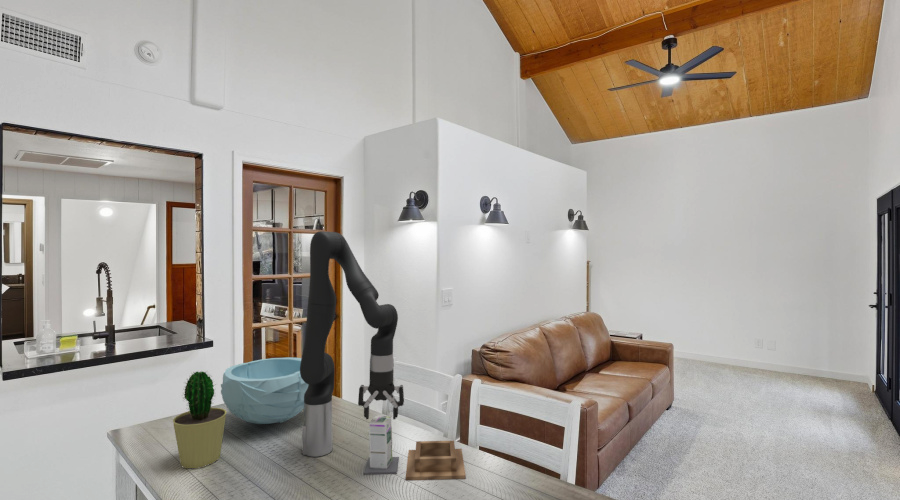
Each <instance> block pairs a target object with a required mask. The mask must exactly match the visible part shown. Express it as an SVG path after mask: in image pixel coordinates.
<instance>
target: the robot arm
mask: <svg viewBox="0 0 900 500" xmlns="http://www.w3.org/2000/svg"><path fill="white" fill-rule="evenodd" d="M330 260H335V261H336V262H337V263H338V265H339V266H340V267H341V269H342V270H343V273H344V277H345V282H346V285H347V288H348V290H349V292H350V294H351V295H352V296H353V297H354V298H355V300H356V301H357V303H358V304H359V307H360V310H361V313H362V315H363V317H364V321H365V322H366V323H367V324H368V325H369V326H370V327H372V329H377V332H376V333H375V334H373V336H372V337H371V339H370V356H369V384H368V385H364V384H361V385H360V386H359V388H358V402H357V405H358V406H359V407H363V417H364V418H365V420H369V419H370V418H369V417H370V404H371V403H372V402H373V401H374V400H375V401H384V402H386V401H387V400H388V402H389V403H390V404H391V405H392V407H393V409H392V420H396V419H397V418H398V416H399V408H400V407H403V406H404V405H405V404H404V403H405V396H404V395H405V394H404V385H403V384H400V385H398V386H397V385H396V386H395V384H394V372H395V371H394V369H395V368H394V367H395V363H394V339H395V338H394V337H395V335H396V330H397V327H398V321H399V315H398V311H397V309H396V307H395V306H394V305H392V304H391V303H390V304H388V303H386V304H380V305H379V303H378V302H377V300H378V299H379V292H378V290H377V289H376V287H375V286H374V285H373V283H372V282H371V280H370V279H369V278H368V277H367V275H366V274H365V273H364V271H363V270H362V267H361V266H360V264H359V262H358V260H357V258H356V257H355V255H354V254H353V251H352V249H351V247H350V244H348V241H347V239H346V238H345V237H344V235H343V234H341V233H339V232H336V231H322V230H321V231H320V230H319V231H317V232H315V233H314V234H313V236H312V237H311V240H310V247H309V267H310V268H309V286H308V288H309V290H308V299H307V307H306V308H307V310H306V324H305V333H304V334H305V335H304V336H305V337H304V344H303V350H302V354H301V358H302V359H301V364H300V375H301V378H302V379H303V381H304V382H305V383H307V384H309V385H308V388H307V390H306V392H305V394H304V408H303V422H304V423H303V425H302V430H301V431H302V434H301V437H302V455H303V456H307V457H315V458H317V457H322V456H325V455H328V454H330V453H331V452H332V451H333V393H334V391H335V390H334V389H335V374H336V373H335V370H336V369H335V362H334V360H333V357H332V356H331V355H330V354H329V353H327V352H325V351H326V345H327V340H328V337H329V335H330V332H331V330H332V326H333V324H334V321H335V317H336V307H337V294H336V291H335V289H334V287H333V284H332V281H331V279H330V272H329V267H330ZM367 391H368V393H369V394H370V395H369V397H368V398H367V400H365V401H364V397H365V396H364V394H366V393H367ZM395 391H396V393H397V394H398V397H399V399H398V400H397V399H396V398H395V396H394V394H393V393H394V392H395Z"/></svg>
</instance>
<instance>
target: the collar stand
mask: <svg viewBox="0 0 900 500" xmlns="http://www.w3.org/2000/svg"><path fill="white" fill-rule="evenodd" d="M455 447H456V446H455V440H427V441H426V440H424V441H423V440H422V441H419V440H418V441H415V449H408V452H407V462H406V472H405V481H427V480H429V481H430V480H431V481H432V480H433V481H434V480H435V481H436V480H466V476H467V475H466V469H465V462H464V457H463V456H464V455H463V450H462V448H455Z"/></svg>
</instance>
